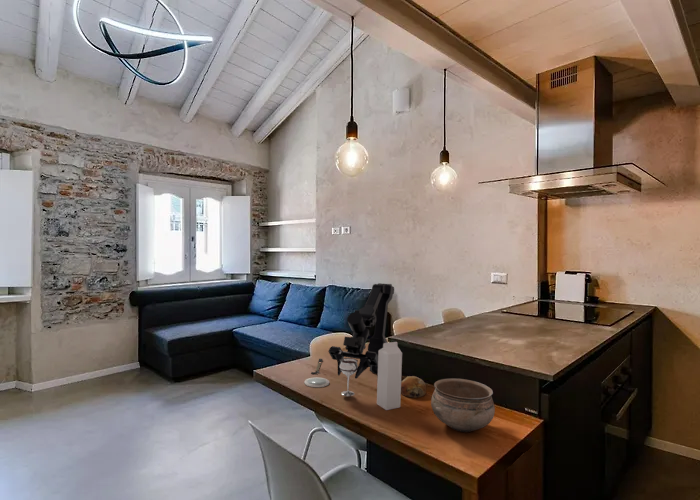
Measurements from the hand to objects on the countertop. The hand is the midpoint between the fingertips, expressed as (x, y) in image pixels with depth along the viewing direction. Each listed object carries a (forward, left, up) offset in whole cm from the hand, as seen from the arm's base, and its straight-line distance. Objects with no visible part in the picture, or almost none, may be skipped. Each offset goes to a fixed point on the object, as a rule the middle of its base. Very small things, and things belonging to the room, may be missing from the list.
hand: (346, 376), depth 140 cm
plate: (+7, -18, -8) cm, 21 cm away
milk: (-13, +9, -8) cm, 18 cm away
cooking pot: (-29, +29, -8) cm, 42 cm away
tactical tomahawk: (+1, -38, -9) cm, 40 cm away
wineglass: (-1, -1, -7) cm, 7 cm away
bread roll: (-26, -1, -8) cm, 28 cm away
